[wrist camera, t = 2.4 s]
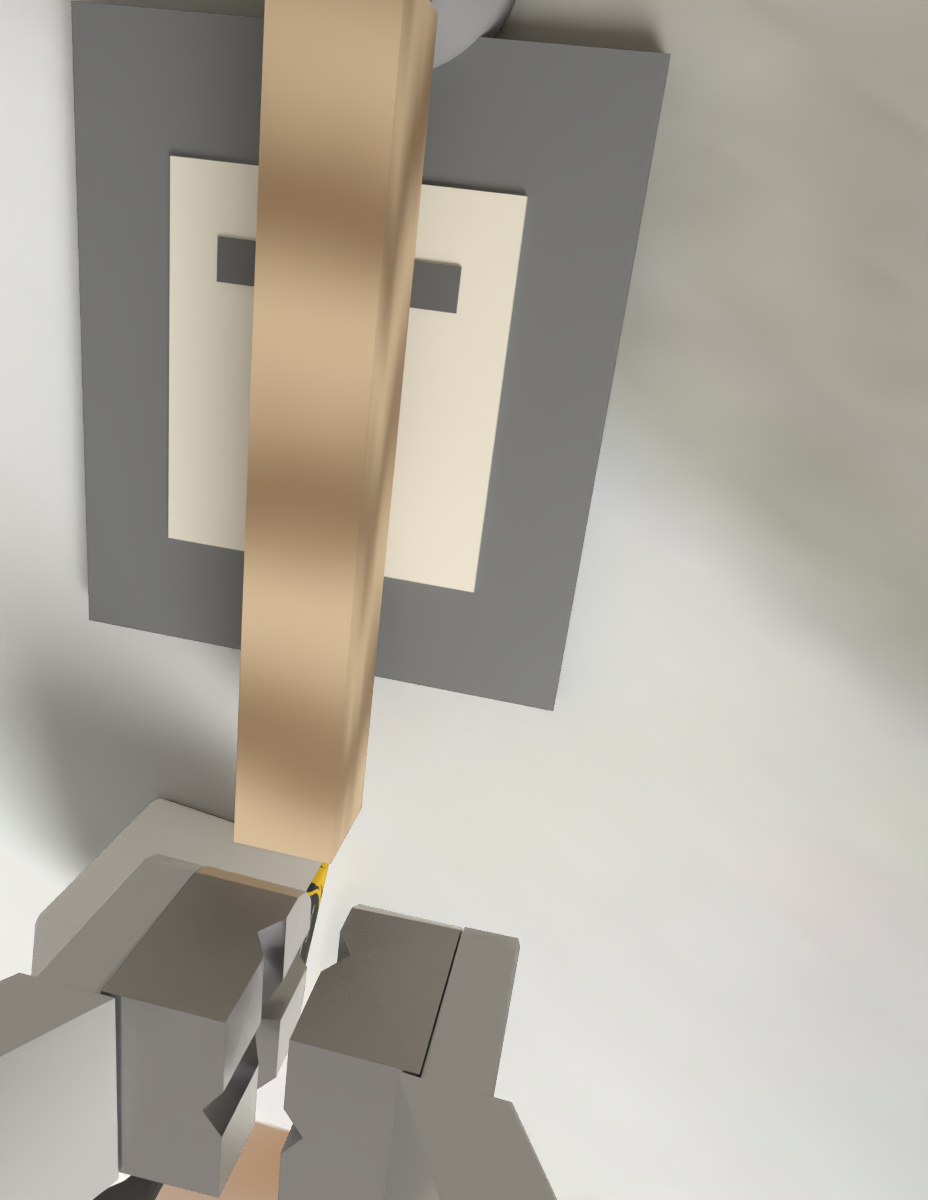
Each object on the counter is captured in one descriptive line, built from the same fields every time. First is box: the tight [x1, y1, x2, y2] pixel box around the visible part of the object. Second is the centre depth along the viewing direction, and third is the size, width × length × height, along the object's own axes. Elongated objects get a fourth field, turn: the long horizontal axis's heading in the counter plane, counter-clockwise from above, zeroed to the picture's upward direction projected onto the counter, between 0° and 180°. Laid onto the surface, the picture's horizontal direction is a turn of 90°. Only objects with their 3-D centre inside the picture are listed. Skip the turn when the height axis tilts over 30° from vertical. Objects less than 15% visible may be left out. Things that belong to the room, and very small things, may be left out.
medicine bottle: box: [31, 799, 329, 1200], centre depth 27 cm, size 7×7×12 cm
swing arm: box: [234, 0, 438, 864], centre depth 22 cm, size 26×4×4 cm, turn 173°
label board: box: [71, 0, 670, 711], centre depth 24 cm, size 16×23×2 cm
